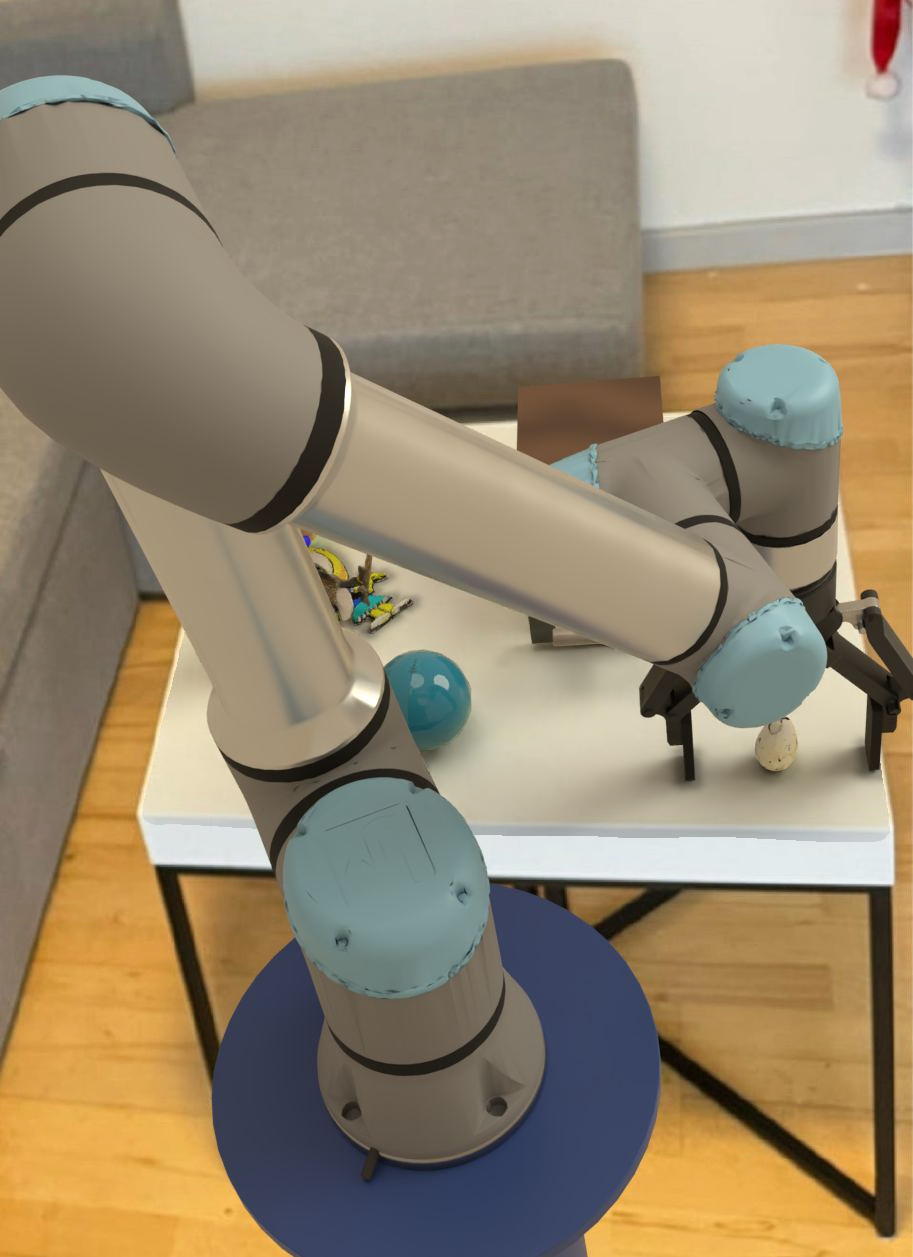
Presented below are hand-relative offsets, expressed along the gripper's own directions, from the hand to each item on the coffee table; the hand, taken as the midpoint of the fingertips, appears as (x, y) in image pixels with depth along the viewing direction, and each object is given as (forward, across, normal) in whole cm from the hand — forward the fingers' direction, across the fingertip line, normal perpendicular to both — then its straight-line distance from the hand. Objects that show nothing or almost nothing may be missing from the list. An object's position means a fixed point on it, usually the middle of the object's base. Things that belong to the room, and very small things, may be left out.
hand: (780, 762), depth 126 cm
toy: (-1, +32, -17) cm, 36 cm away
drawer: (-1, +13, -18) cm, 22 cm away
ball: (0, +27, -5) cm, 28 cm away
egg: (0, 0, 0) cm, 0 cm away
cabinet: (0, +13, -30) cm, 33 cm away
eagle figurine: (-3, +32, -19) cm, 38 cm away
